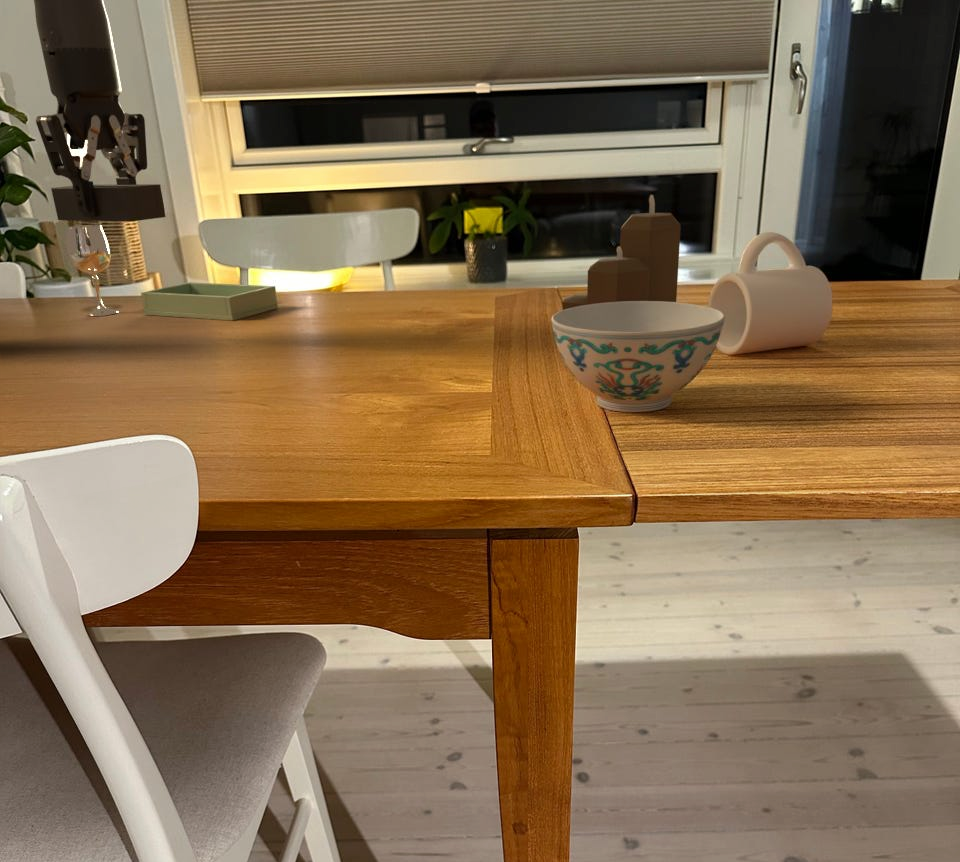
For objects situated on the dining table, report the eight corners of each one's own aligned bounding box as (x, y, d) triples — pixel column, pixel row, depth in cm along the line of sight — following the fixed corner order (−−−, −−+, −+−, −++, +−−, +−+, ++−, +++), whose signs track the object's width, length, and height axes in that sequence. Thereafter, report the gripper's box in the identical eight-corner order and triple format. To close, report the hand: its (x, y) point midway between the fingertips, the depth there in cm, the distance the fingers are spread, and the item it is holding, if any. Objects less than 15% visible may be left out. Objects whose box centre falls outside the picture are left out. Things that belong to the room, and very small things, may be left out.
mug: (827, 351, 103) (844, 231, 97) (746, 361, 100) (757, 238, 94) (781, 338, 110) (794, 225, 104) (703, 347, 107) (712, 232, 101)
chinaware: (601, 376, 97) (602, 296, 93) (743, 393, 89) (751, 307, 85) (520, 412, 86) (519, 323, 82) (674, 435, 78) (679, 338, 75)
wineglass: (130, 311, 143) (113, 224, 137) (98, 318, 139) (78, 228, 133) (106, 308, 146) (88, 224, 140) (74, 315, 142) (54, 228, 136)
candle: (647, 317, 124) (653, 190, 117) (703, 335, 113) (713, 196, 106) (551, 327, 120) (551, 197, 113) (599, 347, 109) (602, 203, 102)
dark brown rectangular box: (57, 220, 114) (50, 187, 112) (94, 215, 118) (88, 184, 116) (131, 221, 108) (124, 187, 107) (166, 217, 113) (160, 184, 111)
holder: (145, 314, 140) (140, 292, 139) (193, 303, 148) (189, 282, 146) (232, 320, 133) (229, 297, 132) (278, 308, 141) (275, 286, 139)
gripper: (104, 51, 112) (133, 208, 120) (-1, 46, 101) (39, 219, 109) (151, 47, 109) (178, 209, 117) (48, 41, 98) (85, 220, 106)
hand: (111, 213), depth 113 cm, fingers closed on dark brown rectangular box, 5 cm apart
